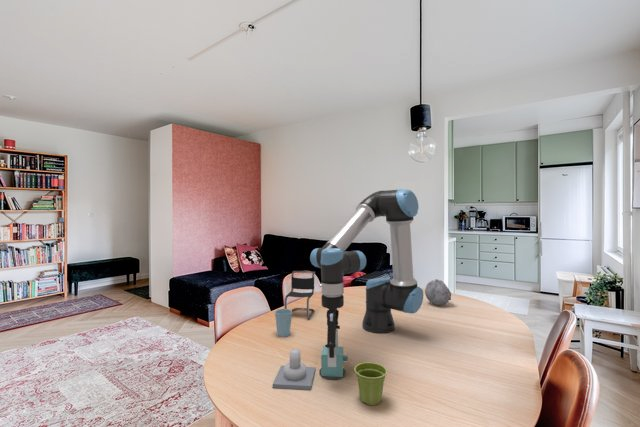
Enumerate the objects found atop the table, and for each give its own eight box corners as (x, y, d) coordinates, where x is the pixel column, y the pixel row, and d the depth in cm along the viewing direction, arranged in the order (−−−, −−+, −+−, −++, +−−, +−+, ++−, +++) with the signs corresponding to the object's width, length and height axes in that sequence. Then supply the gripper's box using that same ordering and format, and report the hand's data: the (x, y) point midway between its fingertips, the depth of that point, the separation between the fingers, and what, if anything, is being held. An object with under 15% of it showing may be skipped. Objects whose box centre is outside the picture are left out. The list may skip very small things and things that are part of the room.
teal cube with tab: (321, 375, 104) (321, 354, 104) (323, 365, 111) (323, 345, 111) (347, 377, 103) (347, 355, 103) (348, 366, 110) (348, 346, 110)
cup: (294, 336, 140) (294, 312, 140) (277, 339, 137) (277, 315, 137) (289, 330, 147) (289, 307, 147) (273, 333, 144) (272, 310, 144)
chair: (315, 310, 177) (315, 271, 177) (308, 320, 160) (308, 277, 160) (293, 309, 179) (293, 270, 179) (284, 319, 162) (284, 276, 162)
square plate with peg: (315, 370, 109) (315, 344, 109) (310, 390, 97) (310, 360, 97) (281, 368, 110) (281, 343, 110) (272, 387, 98) (272, 358, 98)
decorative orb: (455, 308, 180) (455, 282, 180) (429, 308, 180) (429, 282, 180) (445, 301, 194) (445, 277, 194) (421, 301, 195) (421, 277, 195)
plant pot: (351, 391, 97) (351, 362, 97) (381, 389, 97) (381, 361, 97) (357, 410, 87) (357, 378, 87) (391, 408, 88) (391, 377, 88)
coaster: (346, 367, 111) (346, 365, 111) (345, 380, 102) (345, 378, 102) (320, 366, 112) (320, 364, 112) (317, 379, 103) (317, 377, 103)
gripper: (324, 285, 120) (325, 340, 121) (317, 305, 95) (318, 375, 96) (344, 285, 119) (345, 341, 120) (342, 305, 95) (343, 376, 95)
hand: (333, 356), depth 108 cm, fingers open, 13 cm apart
